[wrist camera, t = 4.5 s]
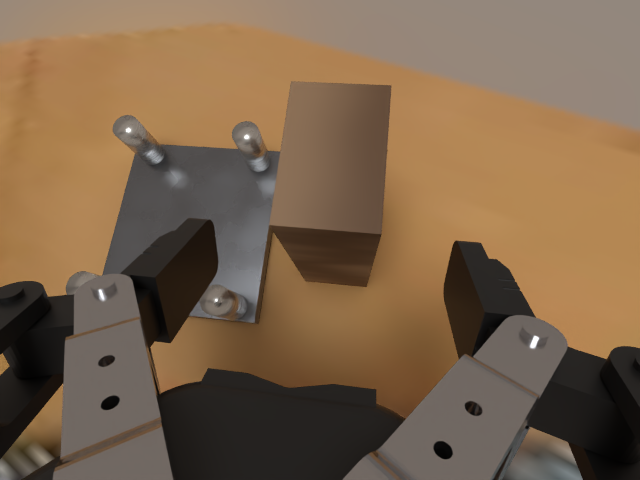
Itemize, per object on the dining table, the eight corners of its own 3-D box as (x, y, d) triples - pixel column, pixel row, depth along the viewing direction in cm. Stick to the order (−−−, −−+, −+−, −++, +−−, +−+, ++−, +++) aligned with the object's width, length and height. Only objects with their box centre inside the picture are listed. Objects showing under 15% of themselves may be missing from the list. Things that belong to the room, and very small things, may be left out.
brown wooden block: (305, 281, 21) (269, 225, 11) (315, 195, 22) (291, 81, 13) (366, 287, 21) (381, 233, 11) (373, 199, 22) (391, 85, 12)
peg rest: (105, 307, 21) (52, 298, 18) (146, 151, 24) (107, 114, 20) (258, 323, 20) (237, 318, 17) (283, 159, 23) (270, 122, 19)
